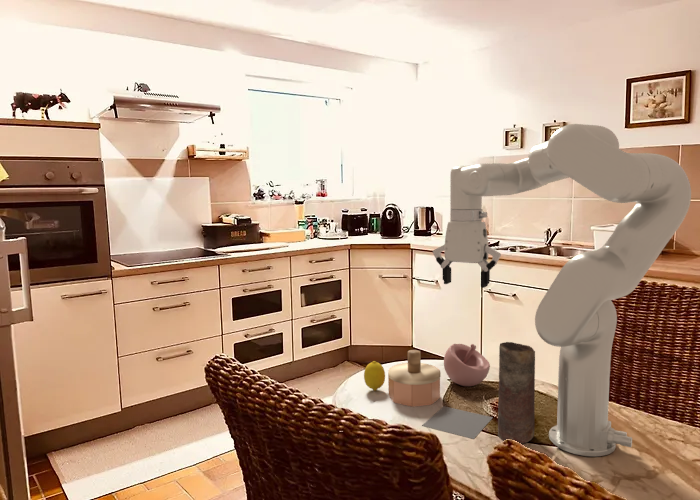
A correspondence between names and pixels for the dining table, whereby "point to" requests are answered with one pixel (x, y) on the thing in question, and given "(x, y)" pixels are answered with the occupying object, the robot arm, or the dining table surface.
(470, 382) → the mortar and pestle
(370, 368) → the lemon
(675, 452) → the dining table surface
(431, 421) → the mat
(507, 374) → the stone cylinder
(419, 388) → the bowl
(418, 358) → the lid
